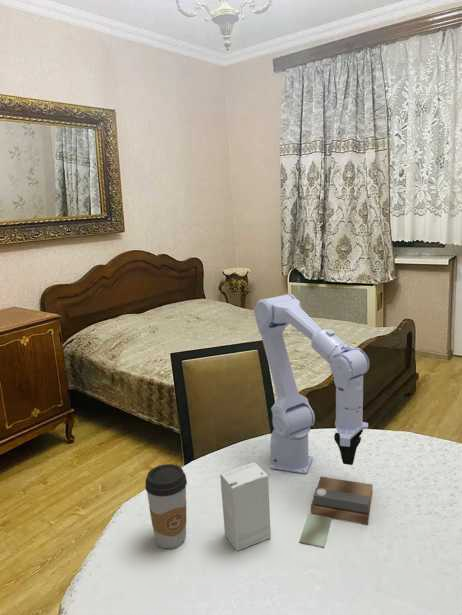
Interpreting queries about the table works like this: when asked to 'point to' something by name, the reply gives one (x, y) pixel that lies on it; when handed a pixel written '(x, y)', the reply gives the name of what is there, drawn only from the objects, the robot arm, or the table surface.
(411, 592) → the table surface
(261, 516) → the skincare box
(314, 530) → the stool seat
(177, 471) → the coffee cup
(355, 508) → the gray rectangular bar
